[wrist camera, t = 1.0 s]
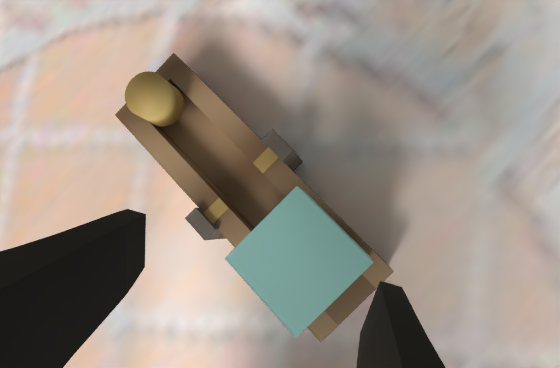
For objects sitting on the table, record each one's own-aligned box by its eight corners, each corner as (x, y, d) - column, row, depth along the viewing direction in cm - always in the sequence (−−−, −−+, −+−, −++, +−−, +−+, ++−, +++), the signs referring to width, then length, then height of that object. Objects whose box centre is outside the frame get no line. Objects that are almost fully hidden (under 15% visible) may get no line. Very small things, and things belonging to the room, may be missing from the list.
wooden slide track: (398, 255, 21) (412, 263, 16) (314, 336, 22) (303, 368, 17) (203, 64, 25) (165, 23, 20) (134, 136, 25) (80, 114, 20)
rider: (368, 254, 20) (373, 262, 15) (309, 311, 20) (295, 338, 15) (309, 195, 21) (296, 185, 16) (254, 251, 21) (224, 258, 16)
